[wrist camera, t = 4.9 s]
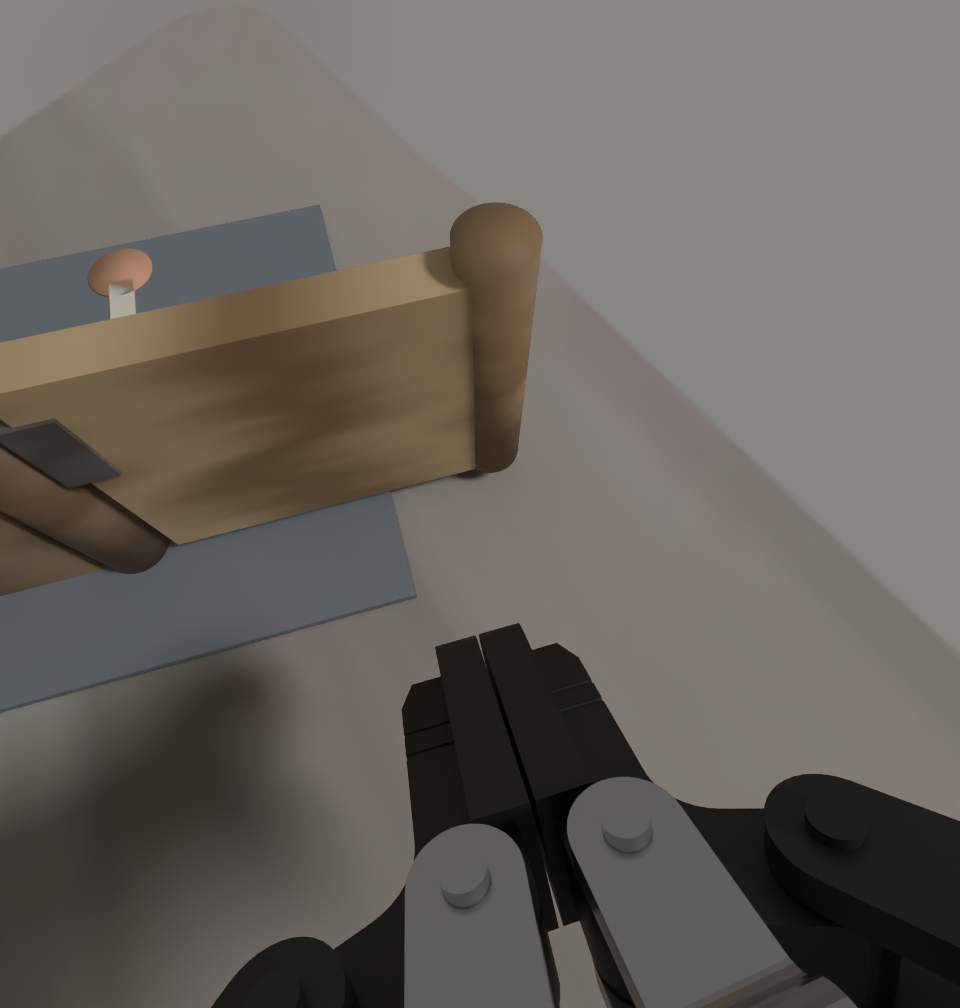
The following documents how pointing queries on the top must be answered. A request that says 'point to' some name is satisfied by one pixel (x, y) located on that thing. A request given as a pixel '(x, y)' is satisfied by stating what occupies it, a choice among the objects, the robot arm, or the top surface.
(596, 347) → the top surface
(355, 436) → the fence gate
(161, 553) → the fence fixed
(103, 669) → the board
